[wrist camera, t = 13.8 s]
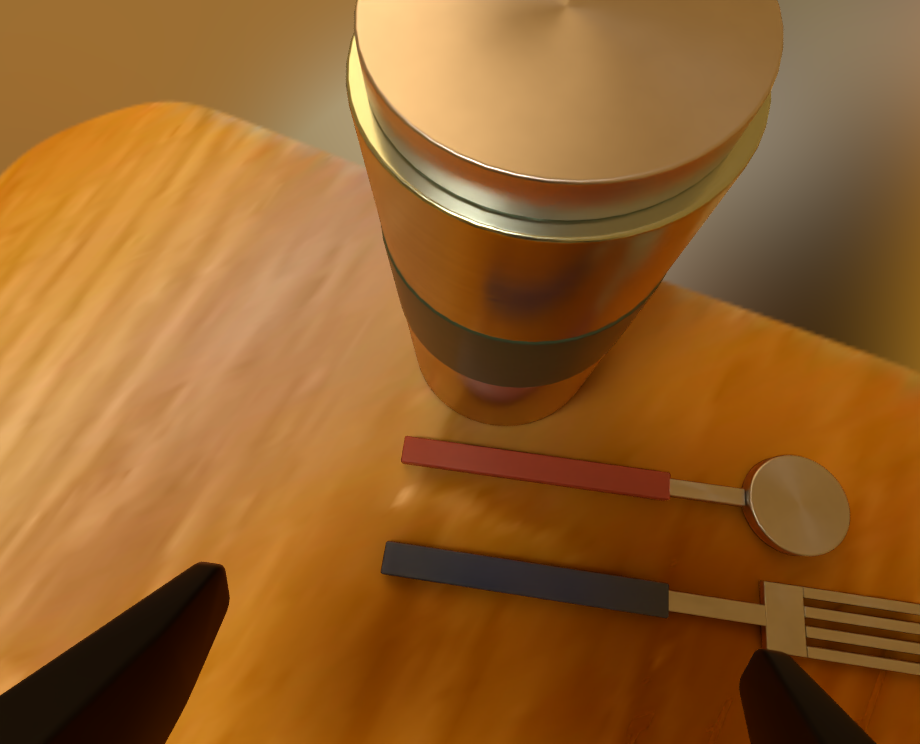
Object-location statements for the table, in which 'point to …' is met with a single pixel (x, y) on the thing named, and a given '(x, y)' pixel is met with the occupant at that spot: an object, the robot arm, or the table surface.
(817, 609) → the fork
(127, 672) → the robot arm
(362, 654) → the table surface
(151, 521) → the table surface
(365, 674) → the table surface
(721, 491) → the spoon
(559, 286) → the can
